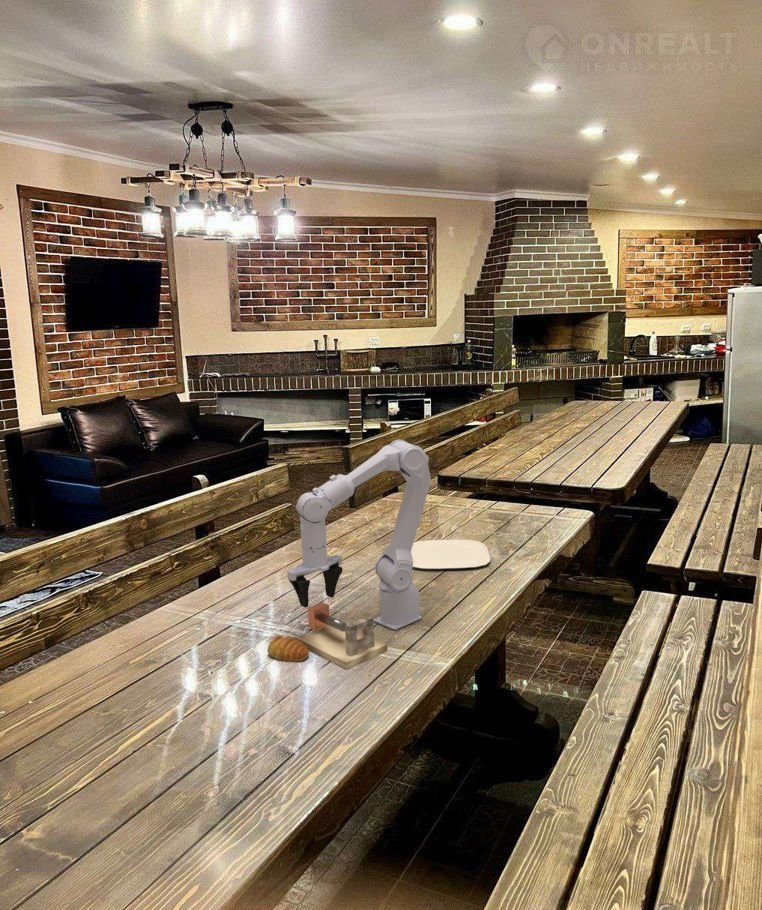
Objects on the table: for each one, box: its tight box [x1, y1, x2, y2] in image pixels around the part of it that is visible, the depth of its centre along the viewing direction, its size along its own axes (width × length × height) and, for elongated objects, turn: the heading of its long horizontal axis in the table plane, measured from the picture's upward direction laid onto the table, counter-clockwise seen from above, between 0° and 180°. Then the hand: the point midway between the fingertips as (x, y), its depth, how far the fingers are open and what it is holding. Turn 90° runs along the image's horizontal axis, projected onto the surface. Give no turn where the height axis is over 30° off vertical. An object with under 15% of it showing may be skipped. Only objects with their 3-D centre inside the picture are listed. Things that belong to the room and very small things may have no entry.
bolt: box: [307, 601, 348, 632], centre depth 175 cm, size 4×10×5 cm, turn 43°
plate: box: [411, 538, 491, 570], centre depth 230 cm, size 25×25×2 cm
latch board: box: [296, 615, 388, 670], centre depth 172 cm, size 12×18×8 cm
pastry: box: [267, 634, 310, 663], centre depth 170 cm, size 9×7×4 cm
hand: (317, 601), depth 177 cm, fingers open, 7 cm apart
